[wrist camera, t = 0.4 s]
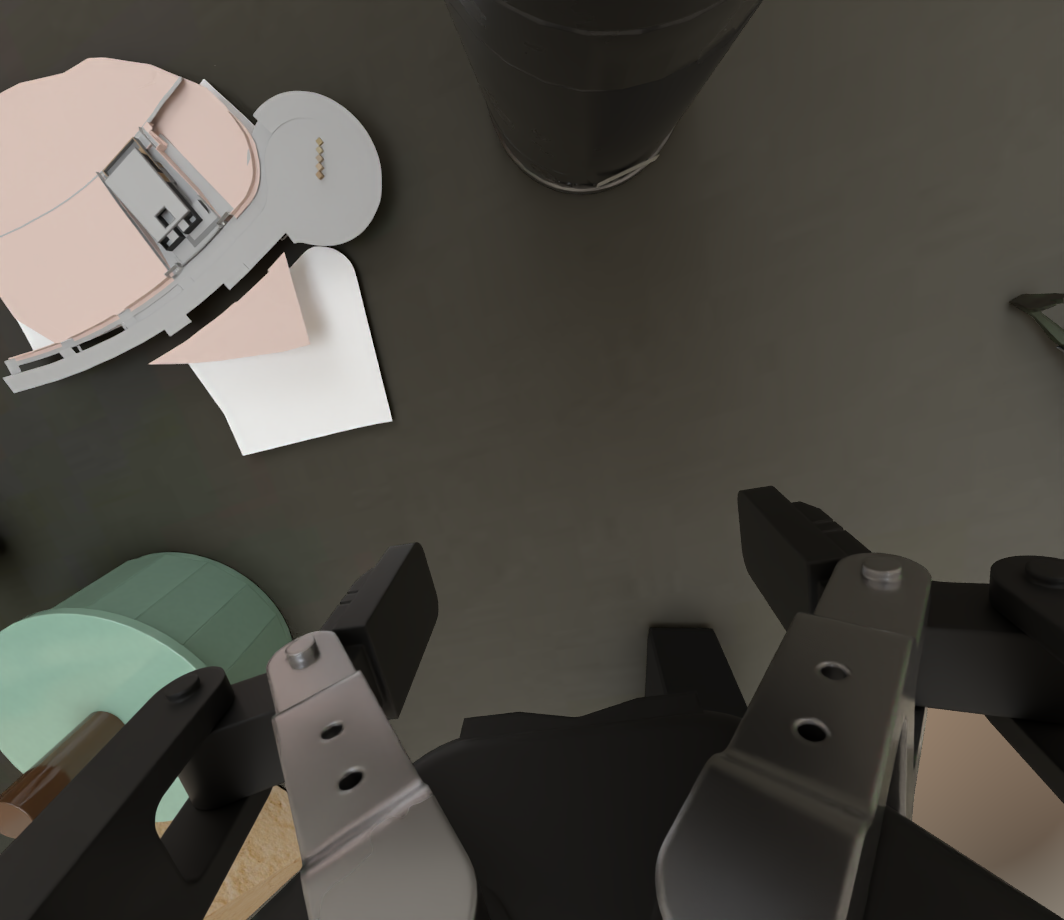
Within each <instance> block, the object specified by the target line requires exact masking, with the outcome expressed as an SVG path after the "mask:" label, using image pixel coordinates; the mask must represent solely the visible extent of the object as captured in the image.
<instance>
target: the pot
mask: <svg viewBox="0 0 1064 920" xmlns="http://www.w3.org/2000/svg"><path fill="white" fill-rule="evenodd" d="M67 607H69V608H90V609H97V610H104V611H108V612H112V613H116V614H120V615H124V616H126V617H129V618H132V619H135V620H138V621H140V622H143V623H145V624H147V625H149V626H151V627H153V628H155V629H158V630H159V631H161V632H163V633H164V634H166V635H168V636H170V637H171V638H173V639H175V640H176V641H177V642H179V643H180V644H182V645H183V646H184V647H186V648H187V649H189V650H190V651H191V652H192V653H193V654H194V655H196V656H197V657H198V658H199V659H200V660H201V661H202V662H204V663H205V665H206V666H207V667H210V666H217V667H221V668H223V670H224V671H225V673H226V675H227V678H228V680H229V682H230V684H231V685H232V684H235V683H238V682H240V681H243V680H246V679H249V678H252V677H255V676H258V675H261V674H264V673H266V666H267V663H268V661H269V660H270V658H271V657H272V656H273V655H274V654H275V653H276V652H277V651H278V650H279V649H280V648H282V647H283V646H284V645H286V644H287V643H289V642H291V641H292V637H291V634H290V631H289V629H288V626H287V624H286V622H285V620H284V618H283V616H282V615H281V613H280V612H279V610H278V609H277V607H276V606H275V604H274V603H273V602H272V601H271V600H270V598H269V597H268V596H267V595H266V594H265V593H264V592H263V591H262V590H261V589H260V588H259V587H258V586H257V585H255V584H254V583H253V582H252V581H250V580H249V579H248V578H246V577H245V576H243V575H242V574H240V573H239V572H237V571H235V570H234V569H232V568H230V567H228V566H226V565H224V564H222V563H220V562H217V561H214V560H211V559H209V558H206V557H202V556H198V555H194V554H187V553H180V552H162V553H153V554H149V555H145V556H141V557H138V558H136V559H133V560H128V561H126V562H125V563H123V564H122V565H120V566H118V567H117V568H115V569H114V570H112V571H110V572H109V573H107V574H106V575H104V576H103V577H101V578H99V579H98V580H96V581H95V582H93V583H91V584H90V585H88V586H87V587H85V588H83V589H82V590H80V591H79V592H77V593H76V594H74V595H72V596H71V597H69V598H68V599H66V600H64V601H63V602H61V603H60V604H58V605H56V606H55V607H53V608H52V609H57V608H67Z"/></svg>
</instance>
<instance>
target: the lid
mask: <svg viewBox="0 0 1064 920" xmlns="http://www.w3.org/2000/svg"><path fill="white" fill-rule="evenodd" d="M204 667H207V666H206V665H205V663H204V662H202V661H201V660H200V659H199V658H198V657H197V656H196V655H194V654H193V653H192V652H191V651H190V650H189V649H187V648H186V647H184V646H183V645H182V644H180V643H179V642H177V641H176V640H175V639H173V638H171V637H170V636H168V635H166V634H164V633H163V632H161V631H159V630H158V629H155V628H153V627H151V626H149V625H147V624H145V623H143V622H140V621H138V620H135V619H132V618H129V617H126V616H124V615H120V614H116V613H112V612H108V611H104V610H97V609H90V608H69V607H67V608H57V609H49V610H45V611H41V612H37V613H34V614H31V615H29V616H26V617H24V618H21V619H20V620H18V621H16V622H15V623H13V624H11V625H10V626H8V627H7V628H5V629H3V630H2V631H0V750H1V751H2V753H3V754H4V755H5V756H6V757H7V758H8V759H9V760H10V762H11V763H12V764H13V765H14V766H15V767H16V768H17V769H19V770H20V771H21V772H22V773H23V775H22V776H21V777H19V778H18V779H17V780H16V781H15V782H14V783H13V784H12V785H11V786H9V787H8V788H7V789H6V790H5V791H4V792H3V793H2V794H1V795H0V833H1V834H3V835H5V836H8V837H11V838H17V837H18V836H19V835H20V834H21V833H22V832H23V831H24V829H25V828H26V827H27V826H28V825H29V824H30V823H31V822H32V821H33V820H34V819H35V818H36V817H37V816H38V815H39V814H40V813H41V812H42V811H43V810H44V809H45V808H46V807H47V806H48V804H49V803H50V802H51V801H52V800H53V799H54V798H55V797H56V796H57V795H58V794H59V793H60V792H61V791H62V790H63V789H64V788H65V787H66V786H67V785H68V784H69V783H70V782H71V781H72V779H73V778H74V777H75V776H76V775H77V774H78V773H79V772H80V771H81V770H82V769H83V768H84V767H85V766H86V765H87V764H88V763H89V762H90V761H91V760H92V759H93V758H94V757H95V755H96V754H97V753H98V752H99V751H100V750H101V749H102V748H103V747H104V746H105V745H106V744H107V743H108V742H109V741H110V740H111V739H112V738H113V737H114V736H115V735H116V734H117V733H118V732H119V730H120V729H121V728H122V727H123V726H124V725H125V724H126V723H127V722H128V721H129V720H130V719H131V718H132V717H133V716H134V715H135V714H136V713H137V712H138V711H139V710H140V709H141V708H142V707H143V705H144V704H145V703H146V702H147V701H148V700H149V699H150V698H151V697H152V696H153V695H154V694H155V693H156V692H158V691H159V690H160V689H161V688H163V687H164V686H166V685H167V684H168V683H170V682H172V681H173V680H175V679H177V678H179V677H180V676H182V675H185V674H187V673H189V672H191V671H194V670H197V669H200V668H204ZM188 798H189V796H188V794H187V792H186V791H185V789H184V787H183V785H182V783H181V781H180V779H179V777H177V778H176V779H175V781H174V782H173V784H172V785H171V786H170V788H169V789H168V790H167V792H166V793H165V794H164V796H163V797H162V799H161V801H160V803H159V805H158V808H157V811H156V817H155V822H166V821H172V820H173V819H174V818H175V816H176V815H177V814H178V812H179V811H180V809H181V808H182V806H183V805H184V803H185V802H186V801H187V799H188Z"/></svg>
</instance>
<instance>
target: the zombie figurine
mask: <svg viewBox="0 0 1064 920" xmlns="http://www.w3.org/2000/svg"><path fill="white" fill-rule="evenodd" d="M1009 303H1011V304H1013V305H1014V306H1016V307H1018V308H1019V309H1021V310H1023V311H1024V312H1026V313H1027V314H1029V315H1030V316H1032V317H1033V318H1034V319H1035V321H1036V322H1037V323H1038V324H1039V325H1040V327H1041V328H1042V329H1043V330H1044V332H1045V333H1046V334H1047V335H1048V336H1049V338H1050V339H1051V340H1052V341H1054V342H1055V343H1056V344H1058V345H1059V346H1057V347H1056V348H1057V349H1059V350H1060V351H1061V352H1063V353H1064V330H1063V329H1062V328H1061V327H1060V326H1058V325H1057V324H1056V323H1054V322H1053V321H1052V320H1050V319H1049V318H1048V317H1046V316H1045V315H1044V314H1043V313H1041V311H1043V310H1045V309H1048V308H1050V307H1053V306H1055V305H1056V304H1059V303H1064V294H1059V293H1051V294H1023V295H1020V296H1019V297H1017V298H1015V299H1014V300H1012V301H1010V302H1009Z"/></svg>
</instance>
